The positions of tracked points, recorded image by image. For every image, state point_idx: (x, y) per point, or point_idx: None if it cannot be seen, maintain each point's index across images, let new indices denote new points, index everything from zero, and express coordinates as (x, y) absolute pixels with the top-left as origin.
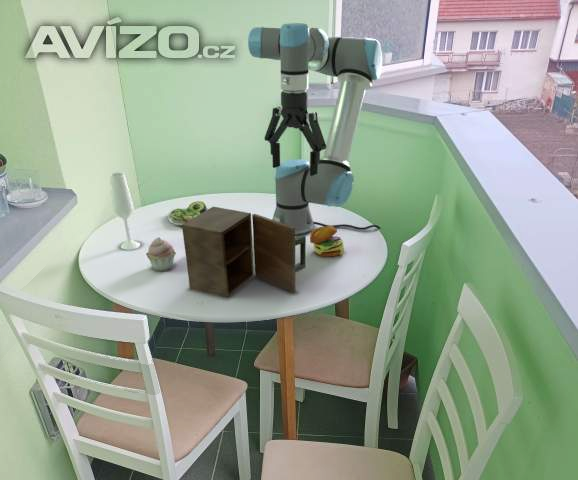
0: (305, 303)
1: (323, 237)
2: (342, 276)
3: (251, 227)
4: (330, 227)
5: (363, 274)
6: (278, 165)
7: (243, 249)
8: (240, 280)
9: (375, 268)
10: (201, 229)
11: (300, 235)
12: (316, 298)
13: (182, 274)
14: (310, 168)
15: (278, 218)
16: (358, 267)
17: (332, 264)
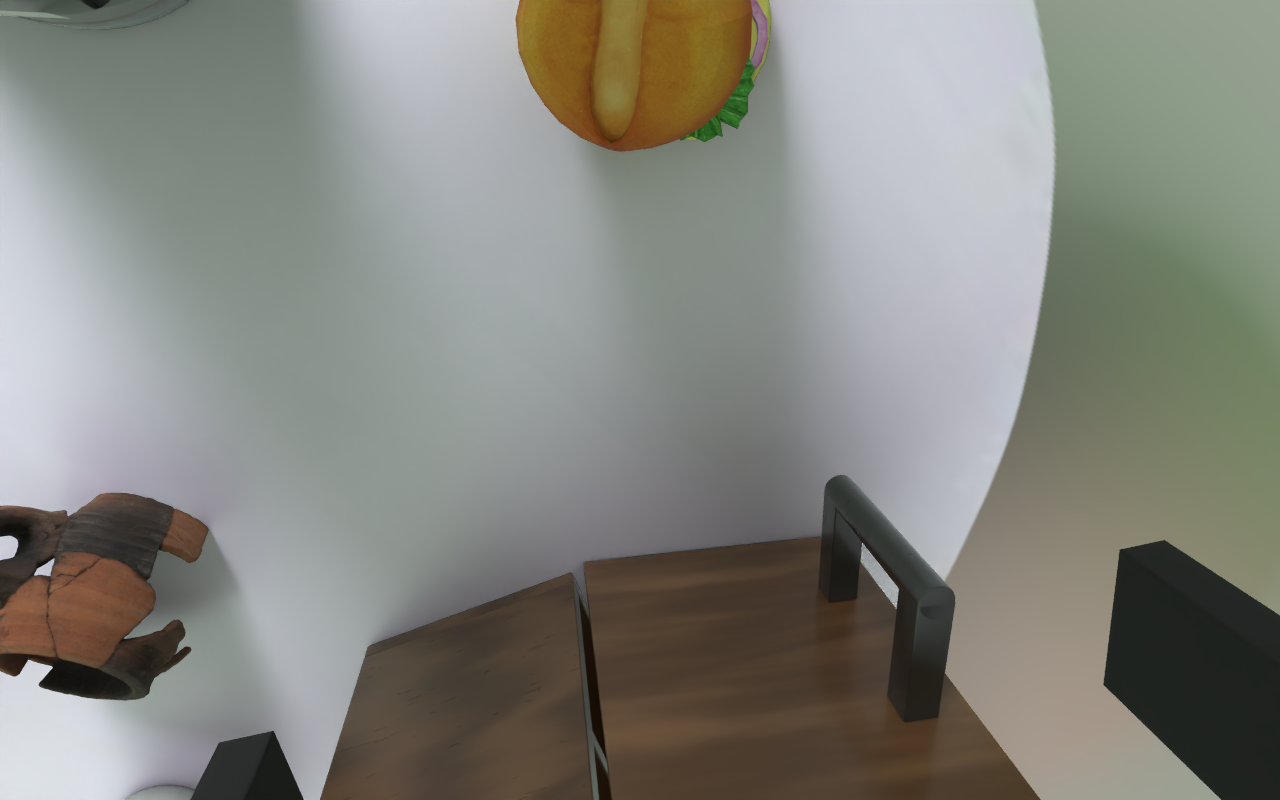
0: (933, 561)
1: (704, 116)
2: (924, 245)
3: (593, 797)
4: (714, 8)
5: (1007, 136)
6: (283, 786)
7: (605, 768)
8: (587, 664)
9: (1030, 8)
10: None
11: (921, 614)
12: (946, 501)
13: (312, 787)
14: (1214, 779)
15: (29, 12)
16: (938, 77)
17: (790, 163)
